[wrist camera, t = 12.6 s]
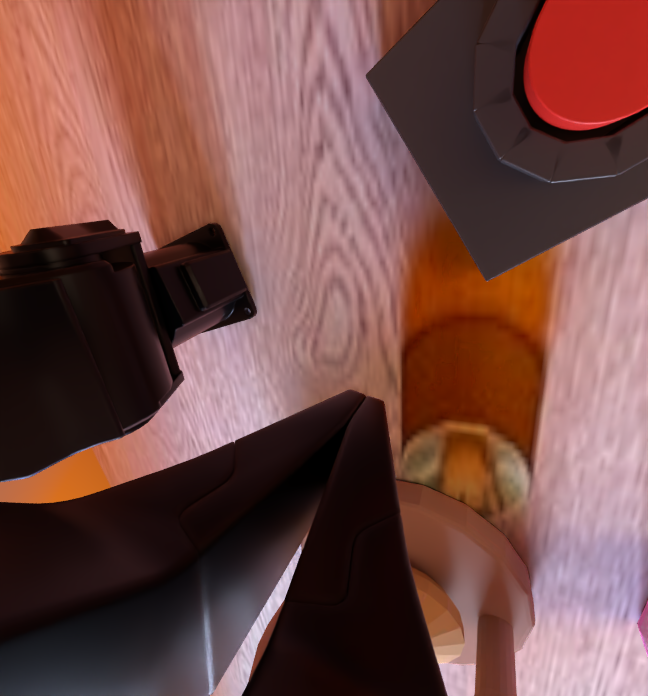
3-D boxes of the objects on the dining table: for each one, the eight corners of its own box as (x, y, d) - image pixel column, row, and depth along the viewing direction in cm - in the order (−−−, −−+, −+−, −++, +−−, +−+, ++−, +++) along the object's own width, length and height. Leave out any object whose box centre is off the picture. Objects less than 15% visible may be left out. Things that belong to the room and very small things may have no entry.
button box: (487, 269, 18) (485, 295, 14) (380, 87, 17) (348, 63, 13) (852, 73, 12) (1023, 26, 8) (727, -254, 10) (864, -501, 6)
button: (557, 159, 12) (568, 157, 10) (499, 48, 12) (500, 28, 10) (715, 58, 10) (758, 36, 8) (653, -85, 9) (686, -138, 8)
